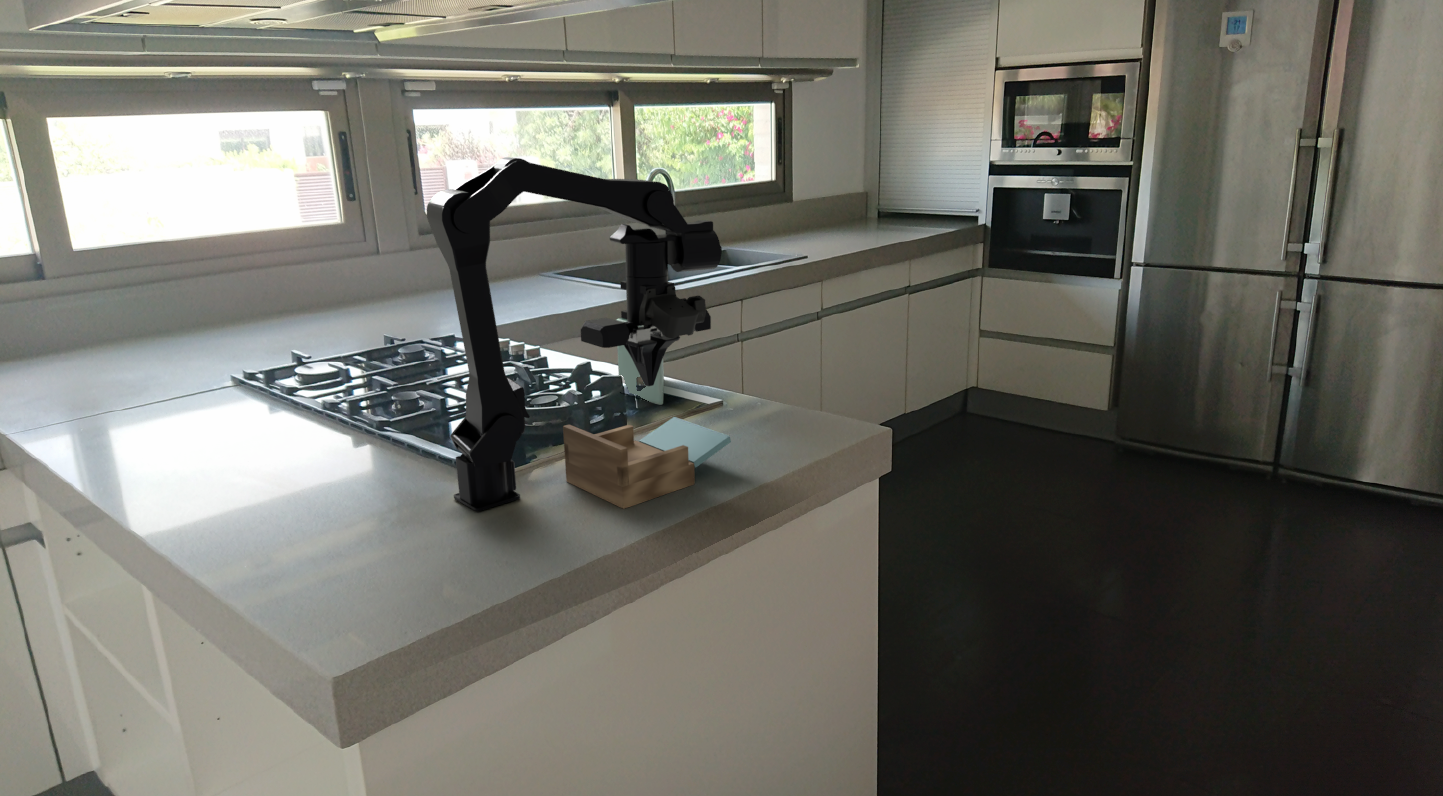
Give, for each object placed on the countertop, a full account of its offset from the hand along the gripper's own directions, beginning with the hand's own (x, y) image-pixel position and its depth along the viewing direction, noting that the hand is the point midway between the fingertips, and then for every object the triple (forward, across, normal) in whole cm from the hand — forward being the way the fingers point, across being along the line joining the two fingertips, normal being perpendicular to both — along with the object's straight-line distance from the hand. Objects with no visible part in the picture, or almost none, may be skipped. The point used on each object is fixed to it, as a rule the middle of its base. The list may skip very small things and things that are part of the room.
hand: (649, 385), depth 133 cm
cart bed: (+12, -7, -4) cm, 14 cm away
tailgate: (+9, 0, -4) cm, 9 cm away
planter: (+12, +21, +30) cm, 38 cm away
